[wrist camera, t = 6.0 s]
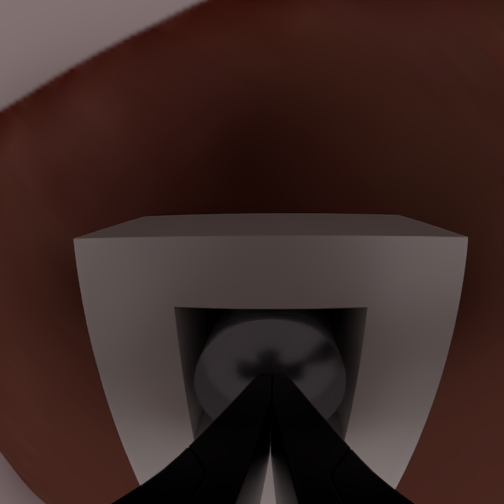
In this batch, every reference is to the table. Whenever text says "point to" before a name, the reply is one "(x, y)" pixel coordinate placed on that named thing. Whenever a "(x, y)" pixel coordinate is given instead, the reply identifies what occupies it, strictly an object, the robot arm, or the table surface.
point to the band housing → (271, 297)
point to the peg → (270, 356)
